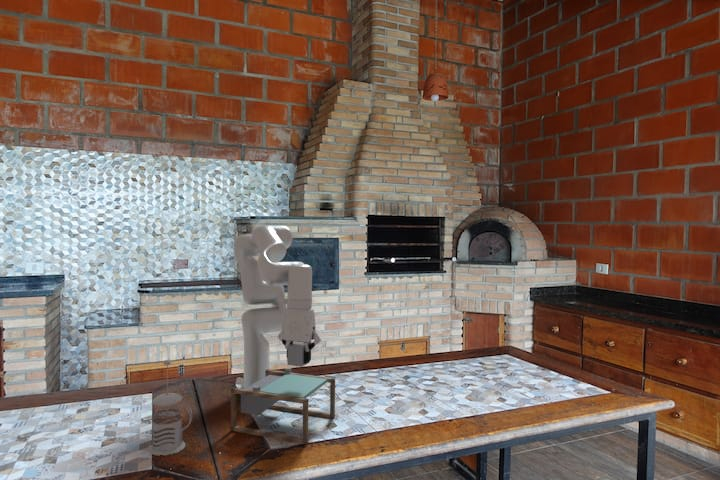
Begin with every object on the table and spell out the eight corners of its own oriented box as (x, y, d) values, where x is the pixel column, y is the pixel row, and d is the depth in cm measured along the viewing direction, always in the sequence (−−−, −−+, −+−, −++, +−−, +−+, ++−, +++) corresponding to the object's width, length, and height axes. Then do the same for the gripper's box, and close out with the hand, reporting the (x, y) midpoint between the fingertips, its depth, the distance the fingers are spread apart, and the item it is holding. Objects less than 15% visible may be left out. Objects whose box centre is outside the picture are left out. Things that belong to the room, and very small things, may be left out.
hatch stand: (230, 430, 146) (230, 384, 146) (267, 406, 167) (267, 365, 166) (306, 444, 138) (306, 395, 137) (334, 417, 158) (335, 373, 157)
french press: (155, 439, 140) (155, 355, 139) (195, 438, 141) (196, 354, 140) (142, 456, 130) (142, 365, 129) (186, 454, 131) (186, 364, 130)
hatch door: (239, 413, 147) (239, 388, 147) (269, 393, 164) (270, 371, 164) (302, 423, 140) (302, 397, 140) (327, 402, 157) (327, 379, 156)
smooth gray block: (287, 364, 147) (287, 345, 147) (295, 360, 152) (295, 341, 152) (301, 366, 145) (302, 347, 145) (309, 362, 150) (309, 343, 150)
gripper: (269, 303, 147) (268, 361, 148) (319, 308, 141) (317, 368, 142) (281, 300, 154) (280, 355, 155) (329, 304, 148) (328, 362, 149)
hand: (298, 361), depth 149 cm, fingers closed on smooth gray block, 5 cm apart
